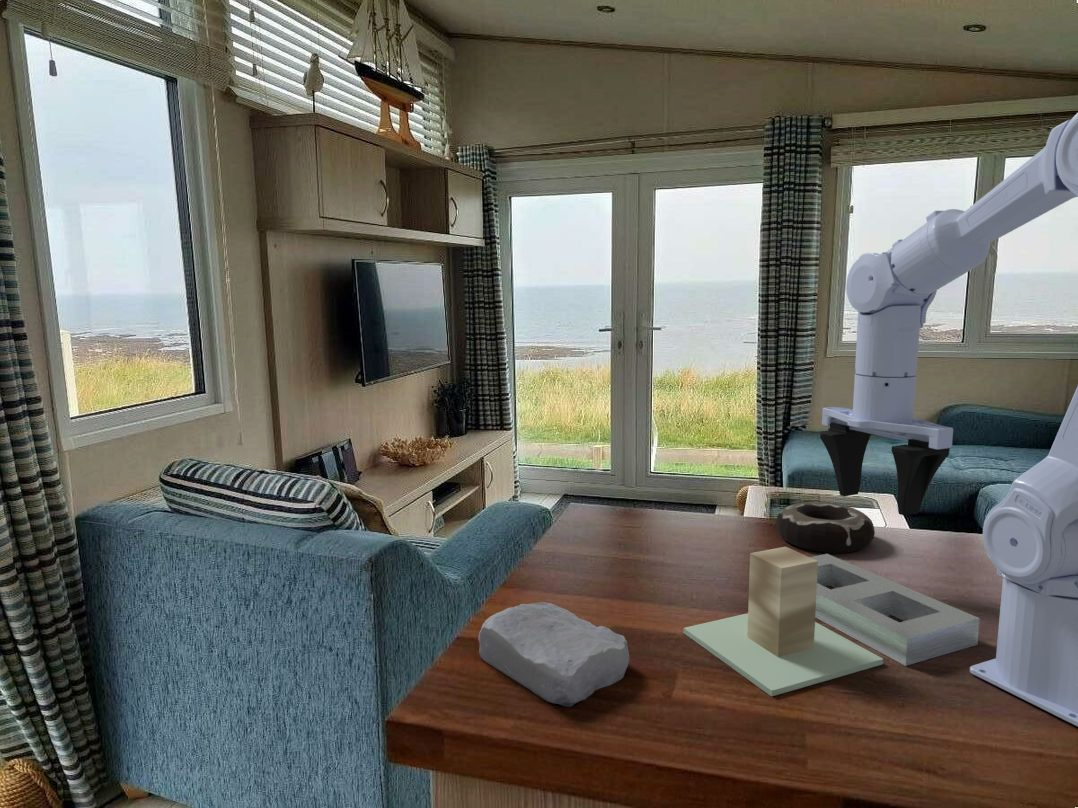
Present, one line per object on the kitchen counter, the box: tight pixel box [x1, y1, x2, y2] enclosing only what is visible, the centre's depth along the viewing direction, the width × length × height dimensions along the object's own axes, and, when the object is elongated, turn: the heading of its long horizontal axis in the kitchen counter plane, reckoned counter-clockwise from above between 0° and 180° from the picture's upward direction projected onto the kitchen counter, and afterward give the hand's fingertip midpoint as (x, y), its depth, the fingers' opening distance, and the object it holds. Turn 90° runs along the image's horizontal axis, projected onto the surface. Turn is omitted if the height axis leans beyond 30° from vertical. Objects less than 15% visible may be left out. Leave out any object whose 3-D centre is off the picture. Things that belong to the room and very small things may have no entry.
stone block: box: [477, 601, 630, 708], centre depth 63 cm, size 12×5×10 cm
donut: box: [775, 501, 876, 554], centre depth 93 cm, size 12×12×4 cm
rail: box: [809, 553, 981, 667], centre depth 72 cm, size 18×9×2 cm, turn 24°
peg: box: [747, 546, 818, 657], centre depth 65 cm, size 4×4×8 cm
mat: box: [683, 612, 884, 697], centre depth 66 cm, size 12×12×1 cm
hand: (877, 503), depth 77 cm, fingers open, 7 cm apart
